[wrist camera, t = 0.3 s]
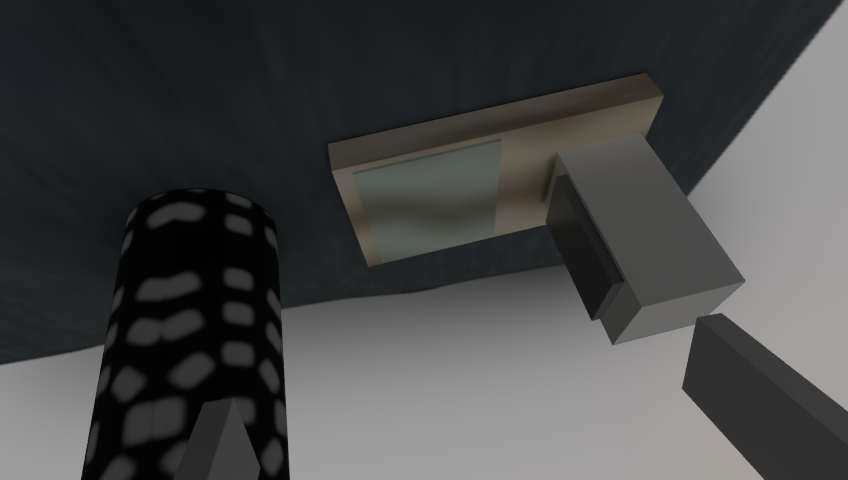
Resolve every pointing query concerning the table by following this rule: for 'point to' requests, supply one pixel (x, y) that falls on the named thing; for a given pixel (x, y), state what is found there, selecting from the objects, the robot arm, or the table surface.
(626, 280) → the block
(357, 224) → the beige rectangular board
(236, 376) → the white-spotted black cylinder
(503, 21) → the table surface
